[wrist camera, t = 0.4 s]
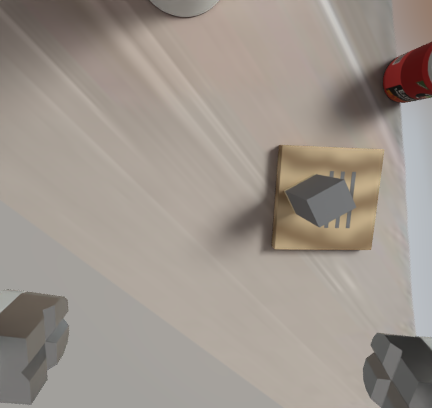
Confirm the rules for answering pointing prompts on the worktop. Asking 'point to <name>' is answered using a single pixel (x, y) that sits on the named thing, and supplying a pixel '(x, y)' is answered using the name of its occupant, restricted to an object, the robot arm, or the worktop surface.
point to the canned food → (410, 76)
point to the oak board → (338, 168)
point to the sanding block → (320, 199)
